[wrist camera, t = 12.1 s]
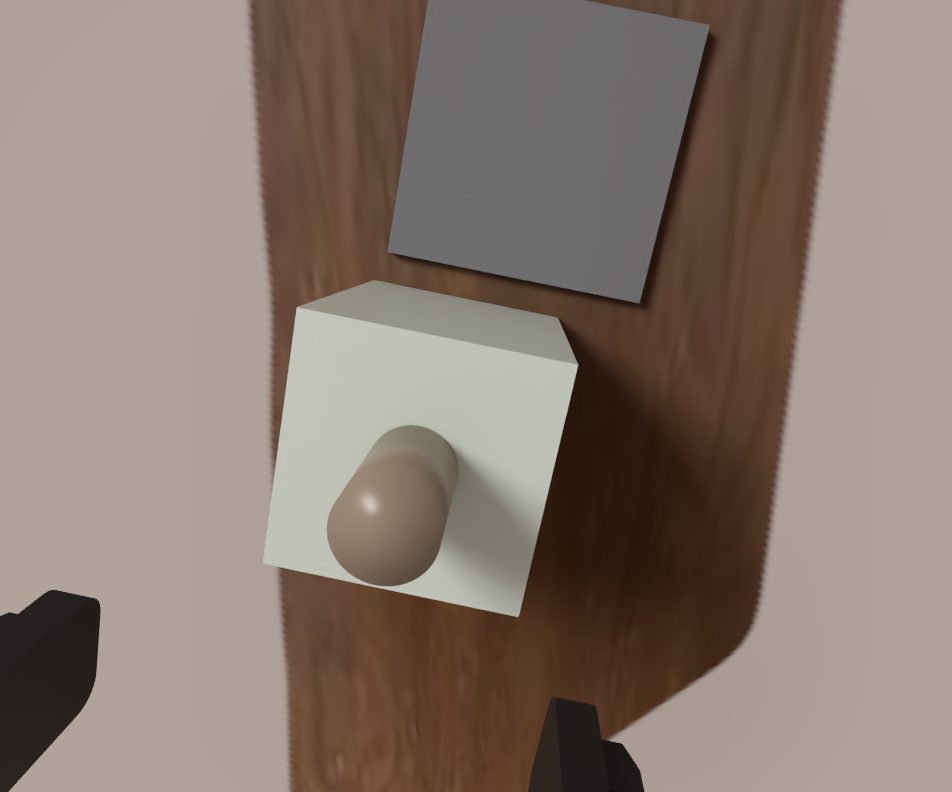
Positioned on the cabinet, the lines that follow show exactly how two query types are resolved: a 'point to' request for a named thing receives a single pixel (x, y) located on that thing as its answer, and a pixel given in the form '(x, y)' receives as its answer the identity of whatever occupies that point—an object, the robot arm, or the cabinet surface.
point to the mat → (544, 140)
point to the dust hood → (419, 443)
